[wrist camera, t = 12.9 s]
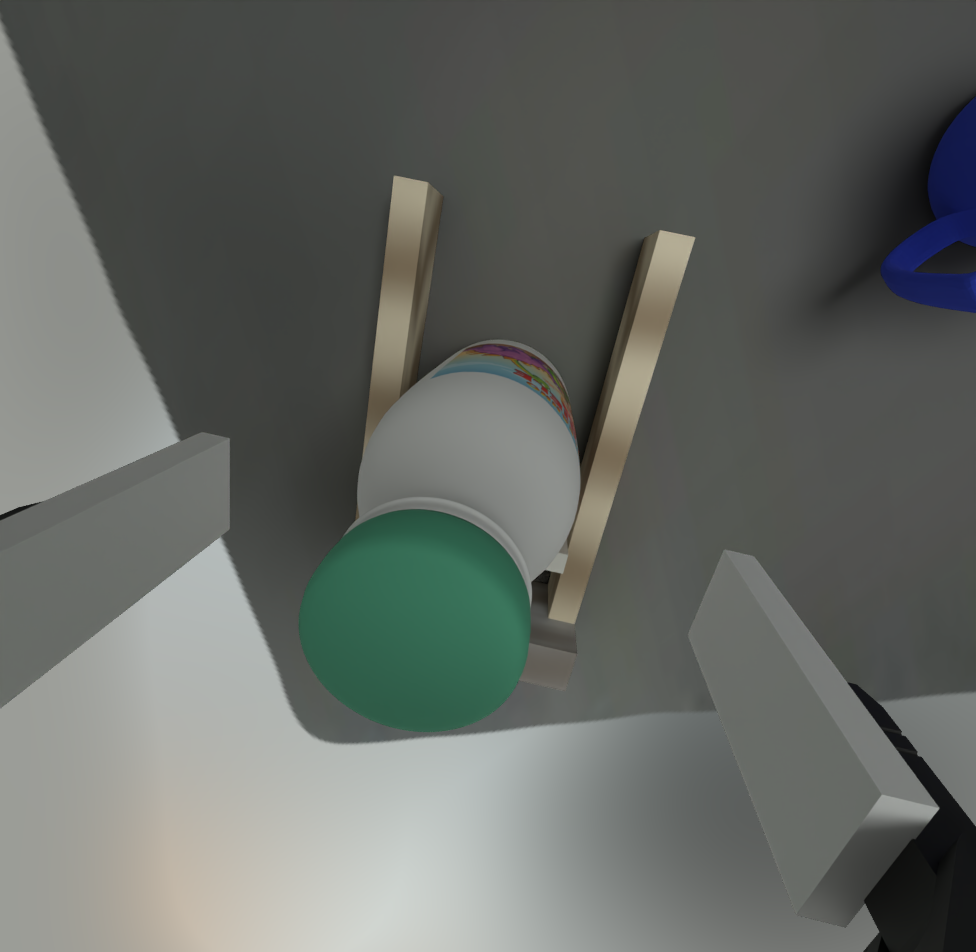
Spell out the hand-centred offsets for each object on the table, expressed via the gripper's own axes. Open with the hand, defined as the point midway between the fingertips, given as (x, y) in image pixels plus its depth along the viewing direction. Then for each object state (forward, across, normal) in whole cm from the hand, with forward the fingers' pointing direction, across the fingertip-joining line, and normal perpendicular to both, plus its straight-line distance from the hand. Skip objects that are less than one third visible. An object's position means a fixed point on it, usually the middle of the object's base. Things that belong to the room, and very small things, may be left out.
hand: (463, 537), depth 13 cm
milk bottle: (+16, 0, 0) cm, 16 cm away
